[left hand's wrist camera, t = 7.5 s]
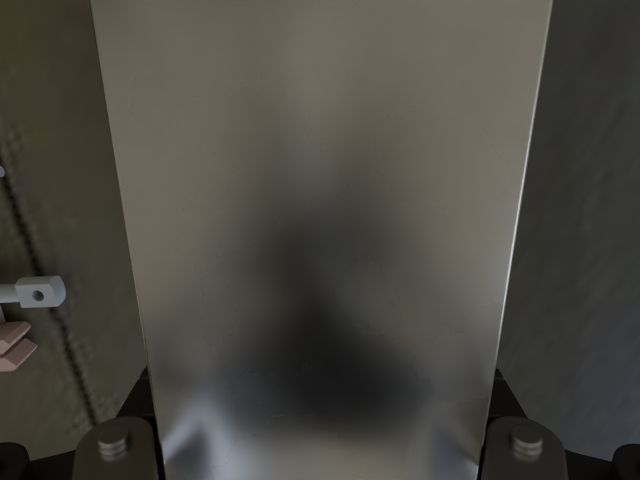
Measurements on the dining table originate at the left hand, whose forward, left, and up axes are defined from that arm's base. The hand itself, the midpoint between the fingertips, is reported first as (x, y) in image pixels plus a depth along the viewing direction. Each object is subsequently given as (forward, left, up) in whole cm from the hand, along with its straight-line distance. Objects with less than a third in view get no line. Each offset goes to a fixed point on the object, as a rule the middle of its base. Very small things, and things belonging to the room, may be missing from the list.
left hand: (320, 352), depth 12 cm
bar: (+5, +8, -5) cm, 10 cm away
